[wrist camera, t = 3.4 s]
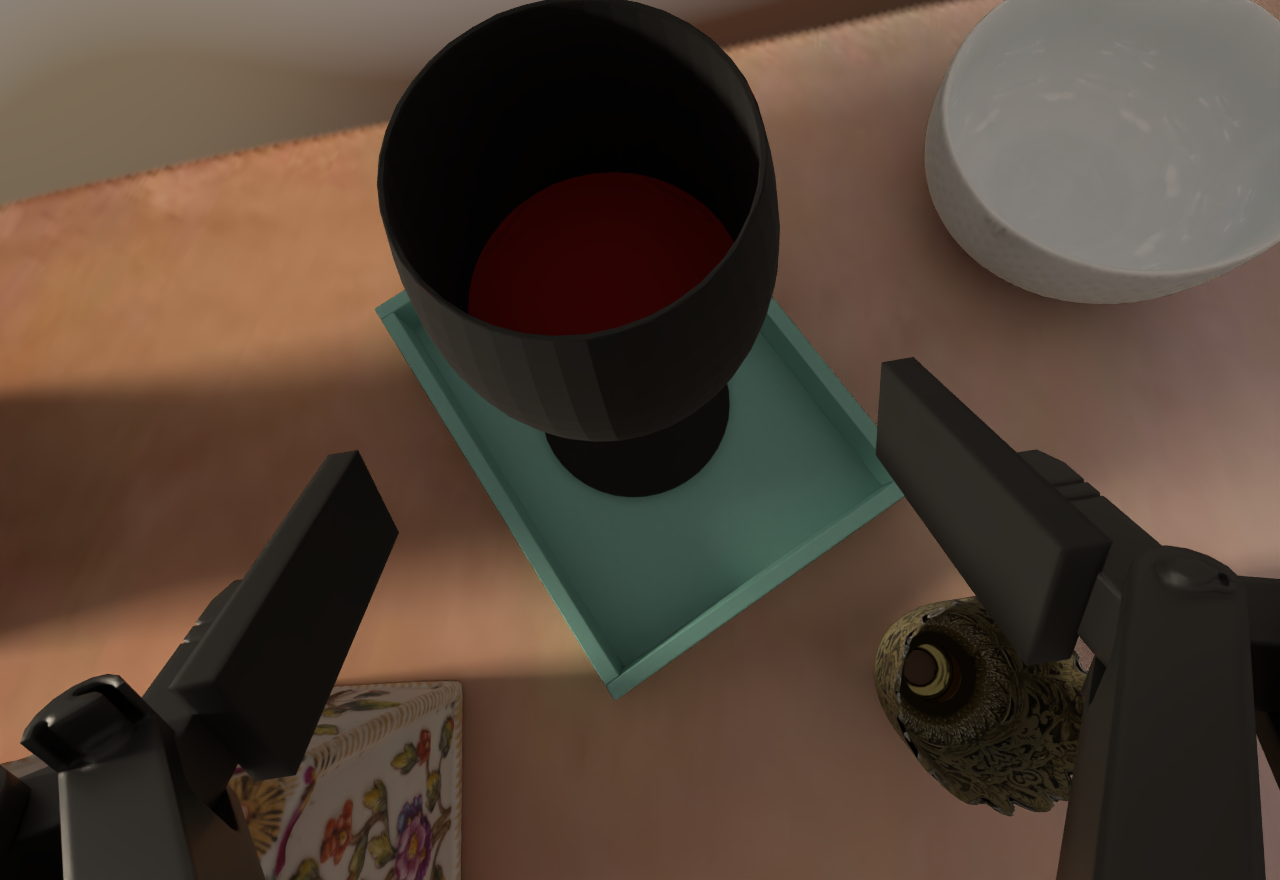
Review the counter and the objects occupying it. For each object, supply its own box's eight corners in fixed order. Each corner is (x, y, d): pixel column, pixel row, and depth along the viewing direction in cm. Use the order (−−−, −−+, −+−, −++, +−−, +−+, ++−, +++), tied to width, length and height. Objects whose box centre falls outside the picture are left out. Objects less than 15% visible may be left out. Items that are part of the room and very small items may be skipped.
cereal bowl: (1100, 36, 36) (1200, -90, 29) (1268, 267, 32) (1428, 184, 25) (842, 141, 36) (881, 38, 29) (983, 386, 32) (1066, 336, 25)
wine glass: (620, 281, 34) (543, -102, 15) (769, 387, 32) (906, 108, 13) (502, 420, 33) (244, 201, 13) (649, 539, 31) (600, 486, 12)
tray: (398, 329, 35) (373, 308, 32) (647, 170, 36) (644, 137, 33) (620, 689, 30) (614, 701, 27) (901, 491, 31) (923, 483, 28)
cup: (1025, 718, 28) (1156, 774, 21) (881, 772, 28) (957, 849, 21) (953, 567, 30) (1049, 566, 22) (817, 618, 30) (865, 636, 22)
